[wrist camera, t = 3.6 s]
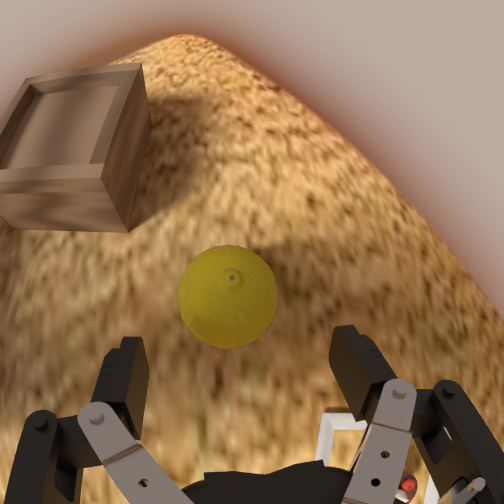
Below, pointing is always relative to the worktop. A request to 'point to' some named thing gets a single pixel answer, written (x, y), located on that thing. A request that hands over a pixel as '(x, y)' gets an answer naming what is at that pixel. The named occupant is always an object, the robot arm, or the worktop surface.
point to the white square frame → (347, 421)
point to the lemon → (227, 296)
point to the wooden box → (74, 149)
